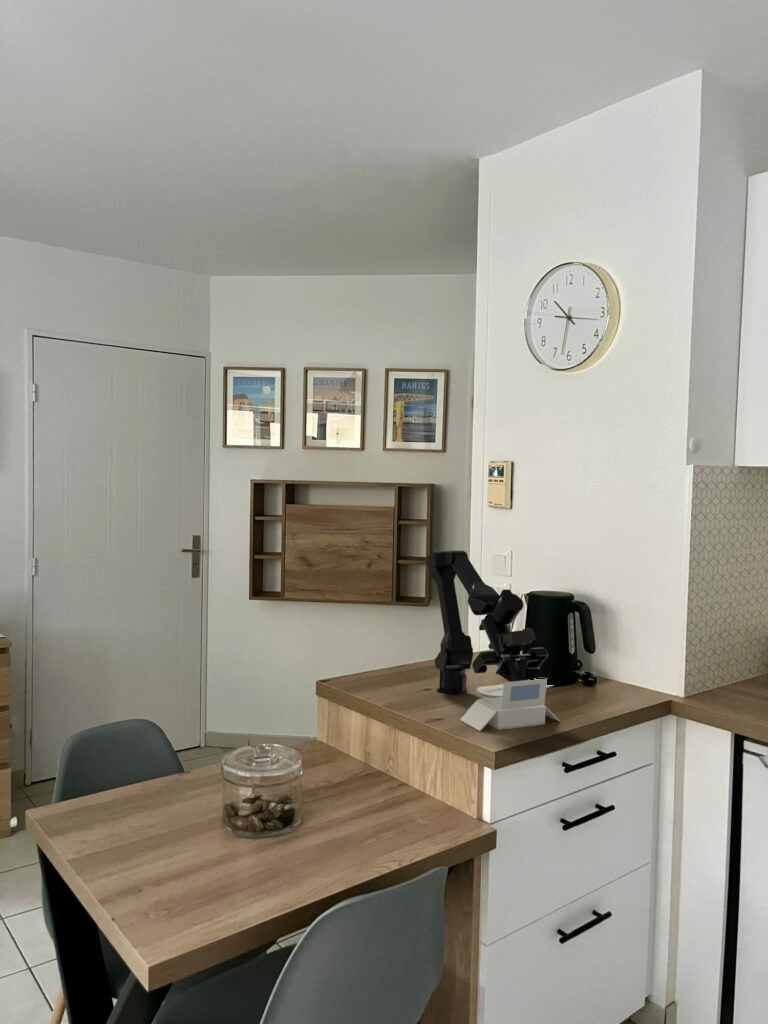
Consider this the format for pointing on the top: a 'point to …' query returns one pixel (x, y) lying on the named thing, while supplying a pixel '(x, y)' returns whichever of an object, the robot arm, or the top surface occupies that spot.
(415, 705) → the top surface
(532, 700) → the panel
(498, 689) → the white pronged spatula
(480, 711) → the flap
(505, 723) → the carton
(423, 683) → the top surface
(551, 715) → the flap
